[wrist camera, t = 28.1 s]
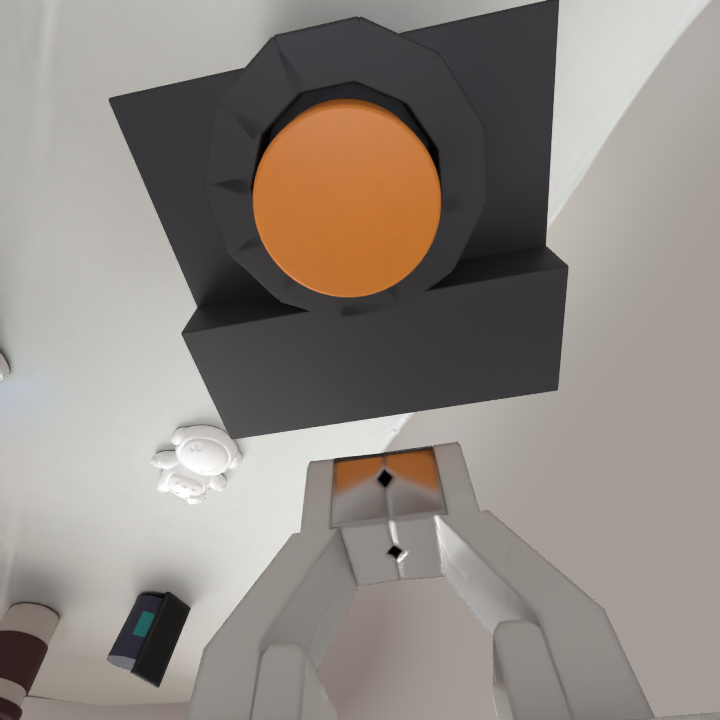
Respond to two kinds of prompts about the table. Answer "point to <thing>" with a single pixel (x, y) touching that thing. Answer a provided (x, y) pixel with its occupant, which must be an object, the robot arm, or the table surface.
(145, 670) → the speaker
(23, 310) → the table surface
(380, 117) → the button
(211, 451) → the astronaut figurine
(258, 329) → the coffee maker
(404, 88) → the column
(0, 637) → the coffee cup
